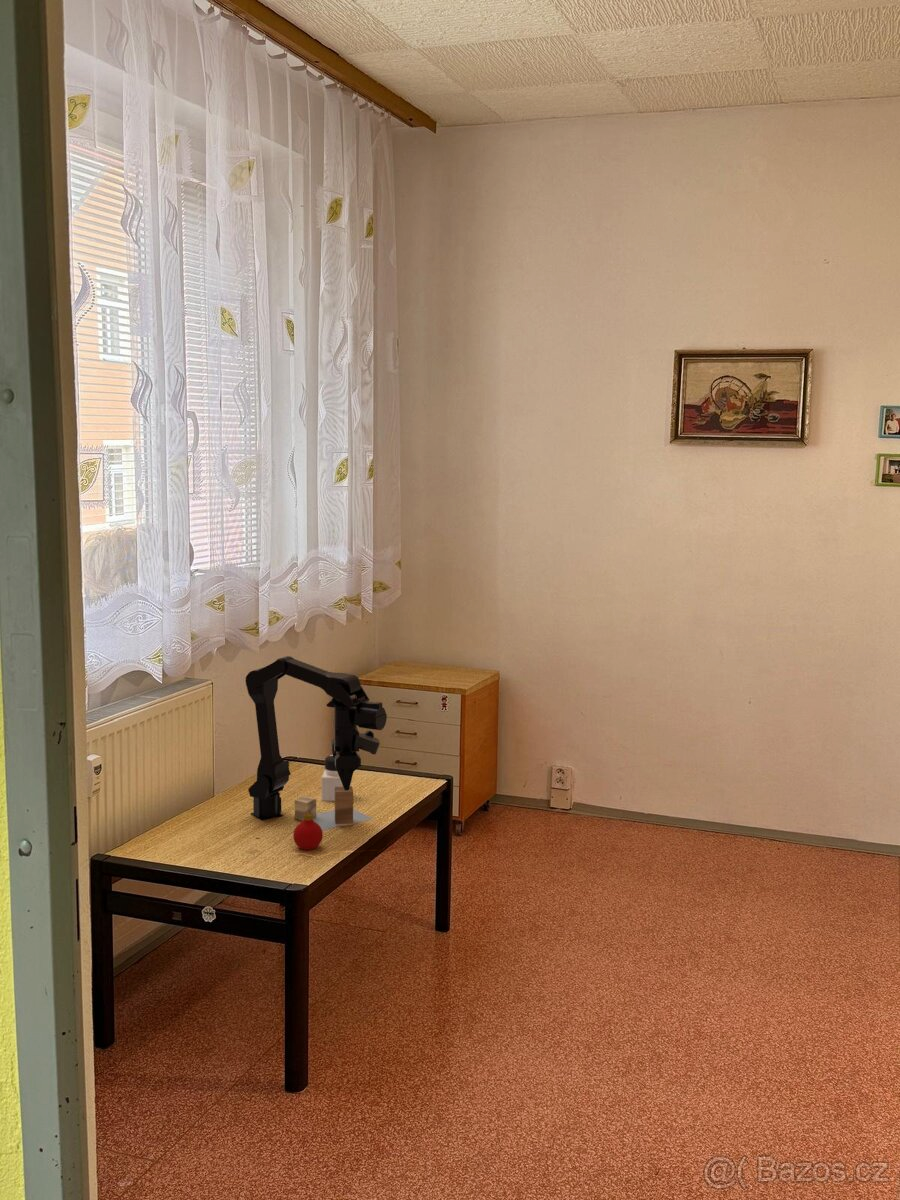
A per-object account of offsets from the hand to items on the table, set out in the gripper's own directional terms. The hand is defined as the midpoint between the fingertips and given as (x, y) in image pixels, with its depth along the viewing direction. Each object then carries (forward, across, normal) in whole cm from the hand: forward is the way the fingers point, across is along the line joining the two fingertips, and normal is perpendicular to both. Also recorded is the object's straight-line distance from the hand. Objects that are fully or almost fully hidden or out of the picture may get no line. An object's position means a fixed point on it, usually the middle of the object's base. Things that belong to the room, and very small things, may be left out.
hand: (345, 785), depth 289 cm
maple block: (+12, +10, +10) cm, 18 cm away
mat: (+12, +9, +2) cm, 15 cm away
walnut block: (+12, +5, 0) cm, 13 cm away
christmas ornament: (+12, -12, +10) cm, 20 cm away
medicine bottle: (+12, +27, +1) cm, 29 cm away
